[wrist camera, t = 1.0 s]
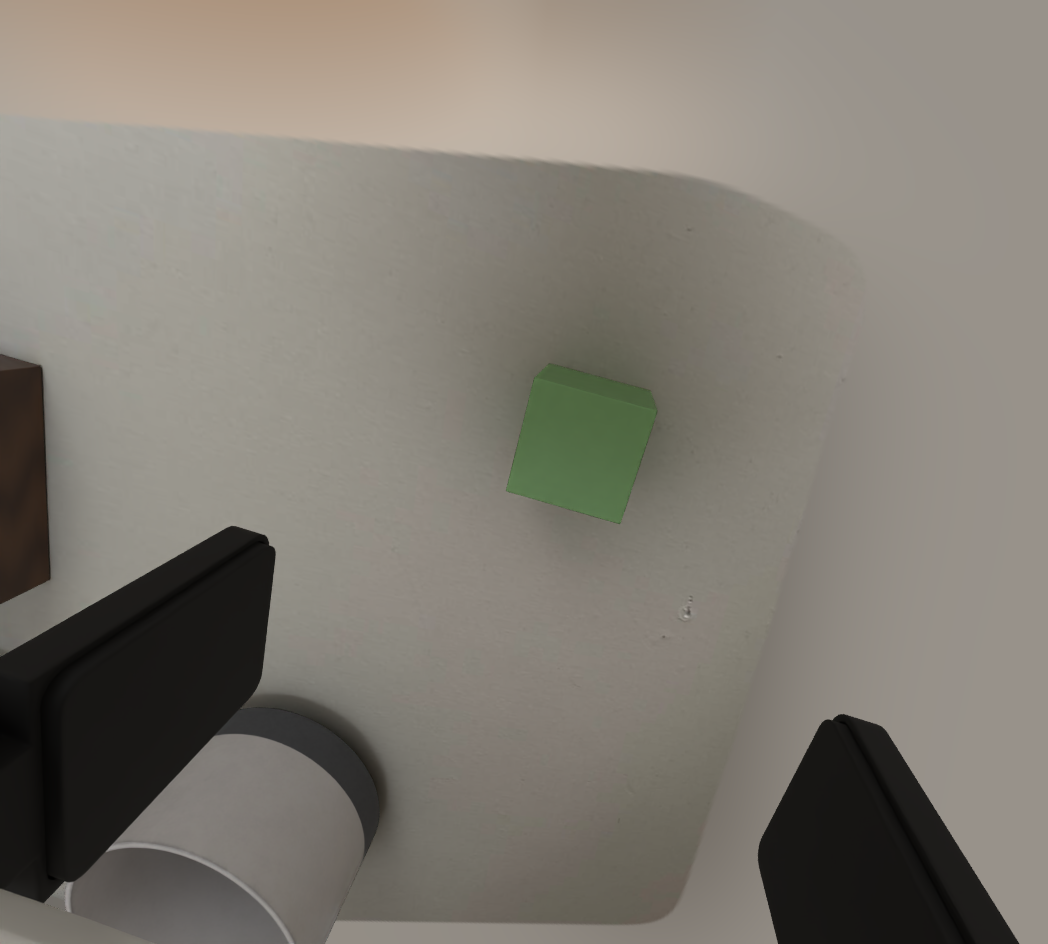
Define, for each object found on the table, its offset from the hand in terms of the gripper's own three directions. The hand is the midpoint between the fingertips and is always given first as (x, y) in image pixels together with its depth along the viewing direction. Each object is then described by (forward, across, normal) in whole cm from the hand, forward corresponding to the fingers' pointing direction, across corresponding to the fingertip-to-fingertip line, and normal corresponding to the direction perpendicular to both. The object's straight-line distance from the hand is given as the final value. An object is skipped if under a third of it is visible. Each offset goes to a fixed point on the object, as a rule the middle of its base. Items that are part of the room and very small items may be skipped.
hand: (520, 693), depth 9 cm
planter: (+20, +12, +28) cm, 36 cm away
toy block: (+20, 0, 0) cm, 20 cm away
